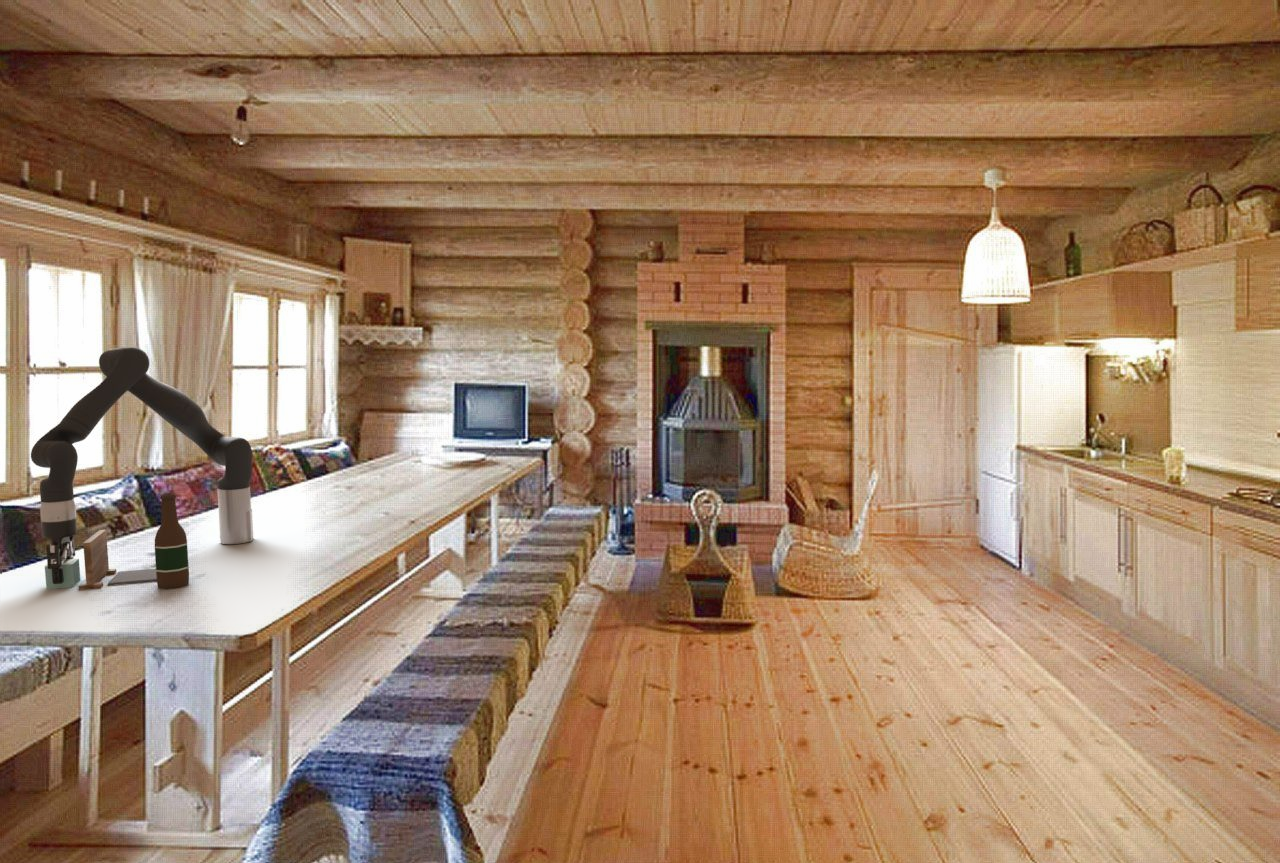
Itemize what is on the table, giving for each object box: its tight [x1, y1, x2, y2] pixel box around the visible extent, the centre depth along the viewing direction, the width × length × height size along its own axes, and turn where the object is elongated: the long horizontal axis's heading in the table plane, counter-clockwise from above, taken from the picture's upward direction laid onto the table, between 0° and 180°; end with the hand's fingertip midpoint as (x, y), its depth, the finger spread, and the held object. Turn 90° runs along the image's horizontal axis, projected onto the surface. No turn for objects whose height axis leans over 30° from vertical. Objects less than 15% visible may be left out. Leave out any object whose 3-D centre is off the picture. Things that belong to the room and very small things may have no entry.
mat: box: [107, 568, 157, 586], centre depth 224 cm, size 12×12×1 cm
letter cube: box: [44, 558, 81, 590], centre depth 217 cm, size 6×6×6 cm
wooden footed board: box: [77, 529, 117, 591], centre depth 220 cm, size 5×16×12 cm, turn 20°
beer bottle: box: [154, 492, 190, 590], centre depth 215 cm, size 8×8×24 cm
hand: (63, 579), depth 217 cm, fingers open, 8 cm apart
